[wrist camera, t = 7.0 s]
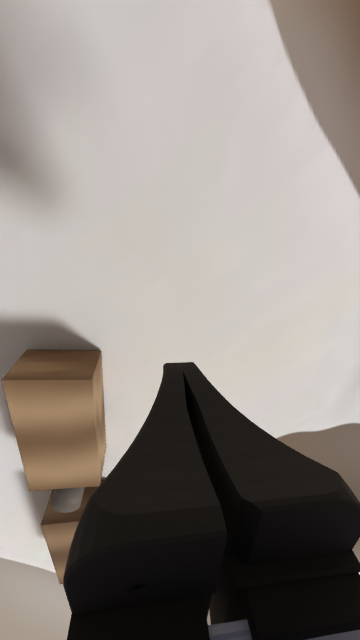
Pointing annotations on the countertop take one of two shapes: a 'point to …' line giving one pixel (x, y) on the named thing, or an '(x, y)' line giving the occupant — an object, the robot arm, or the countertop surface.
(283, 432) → the countertop surface
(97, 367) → the swing leaf
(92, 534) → the robot arm
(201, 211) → the countertop surface
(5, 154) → the countertop surface
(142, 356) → the countertop surface
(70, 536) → the oblong wooden brick
